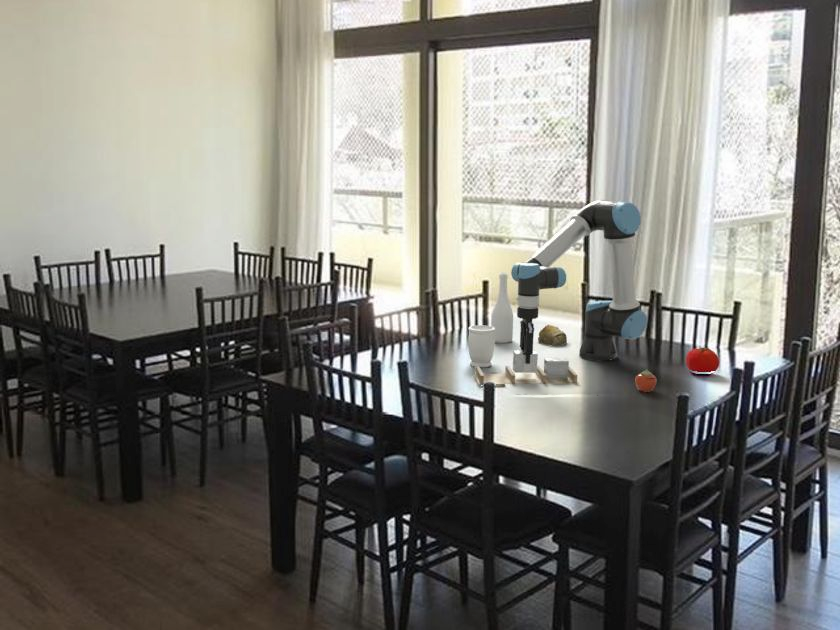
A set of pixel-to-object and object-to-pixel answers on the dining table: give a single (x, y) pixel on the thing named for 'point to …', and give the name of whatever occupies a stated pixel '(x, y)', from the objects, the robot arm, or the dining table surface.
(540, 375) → the rack
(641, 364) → the dining table surface
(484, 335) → the jar
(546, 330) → the pastry
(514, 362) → the white rectangular block
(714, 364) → the tomato
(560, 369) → the panel
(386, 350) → the dining table surface
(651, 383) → the tomato
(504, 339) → the wine bottle
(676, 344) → the dining table surface
